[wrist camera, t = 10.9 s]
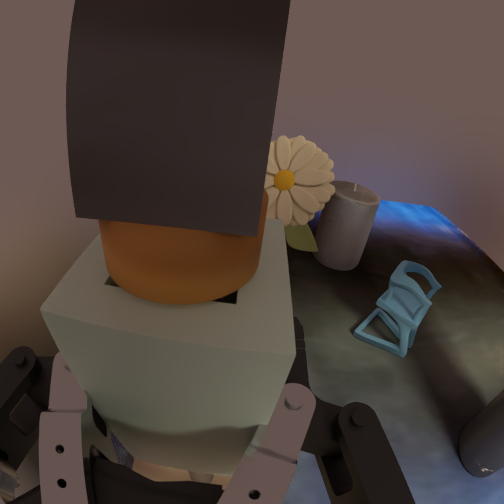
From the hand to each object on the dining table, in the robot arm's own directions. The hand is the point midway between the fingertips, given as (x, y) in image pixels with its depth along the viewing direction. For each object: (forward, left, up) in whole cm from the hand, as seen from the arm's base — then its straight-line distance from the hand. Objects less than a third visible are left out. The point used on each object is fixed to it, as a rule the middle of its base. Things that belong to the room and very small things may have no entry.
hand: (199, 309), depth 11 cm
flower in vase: (-15, -9, -21) cm, 27 cm away
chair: (-29, +5, -21) cm, 36 cm away
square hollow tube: (+2, +2, -6) cm, 6 cm away
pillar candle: (-41, -12, -21) cm, 48 cm away
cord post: (+2, +2, -21) cm, 21 cm away
